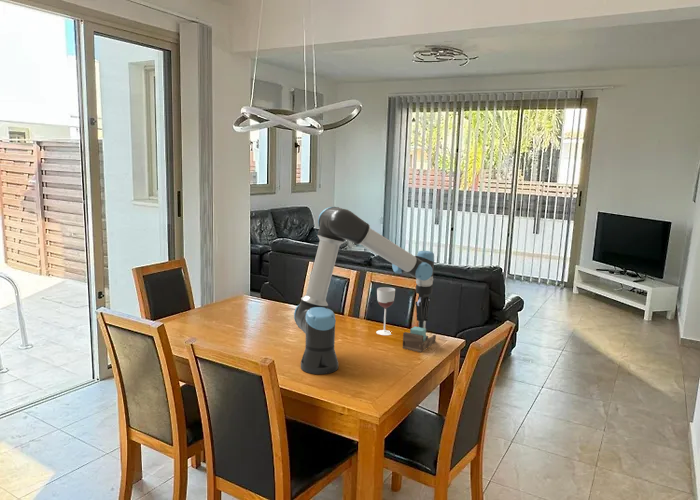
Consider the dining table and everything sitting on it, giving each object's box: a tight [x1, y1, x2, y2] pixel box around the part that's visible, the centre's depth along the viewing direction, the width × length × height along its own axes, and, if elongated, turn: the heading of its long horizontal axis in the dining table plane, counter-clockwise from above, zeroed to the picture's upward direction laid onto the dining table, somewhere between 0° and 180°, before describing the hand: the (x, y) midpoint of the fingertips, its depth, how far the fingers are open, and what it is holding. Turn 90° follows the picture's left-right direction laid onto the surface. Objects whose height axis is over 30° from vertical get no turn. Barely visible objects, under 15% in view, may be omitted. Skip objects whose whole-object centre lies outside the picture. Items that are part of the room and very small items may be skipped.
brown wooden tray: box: [402, 331, 437, 353], centre depth 235 cm, size 17×9×7 cm, turn 148°
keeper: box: [409, 325, 427, 342], centre depth 233 cm, size 5×6×7 cm
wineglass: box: [375, 286, 396, 336], centre depth 251 cm, size 9×10×22 cm
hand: (421, 334), depth 237 cm, fingers closed
